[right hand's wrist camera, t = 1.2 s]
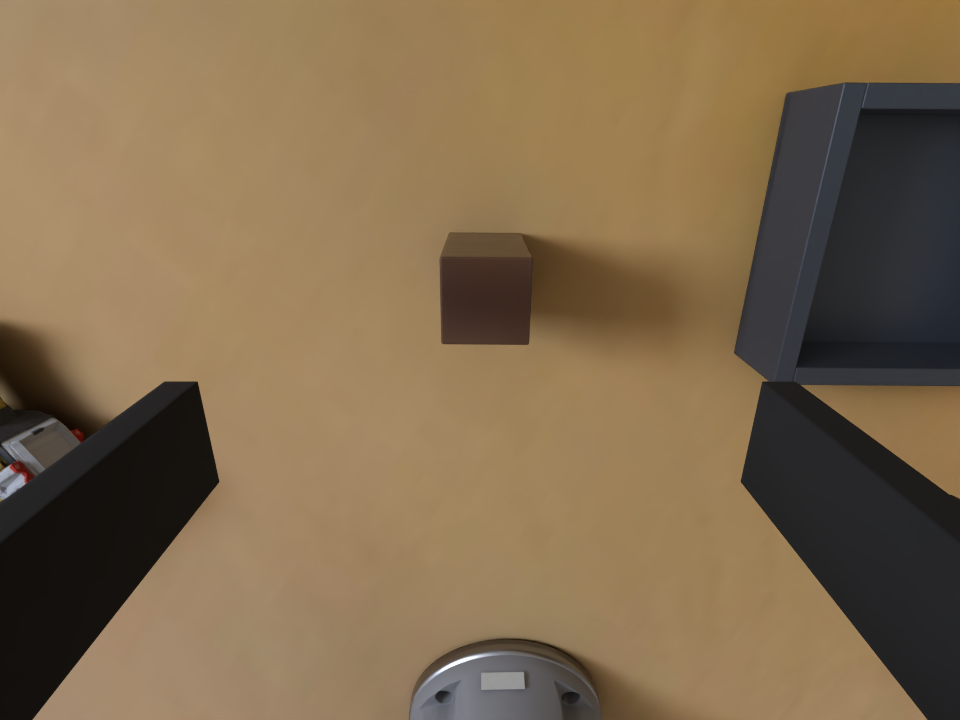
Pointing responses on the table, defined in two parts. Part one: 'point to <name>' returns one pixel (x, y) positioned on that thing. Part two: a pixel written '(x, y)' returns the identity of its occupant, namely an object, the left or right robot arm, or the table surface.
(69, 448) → the toy gun
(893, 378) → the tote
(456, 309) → the walnut block
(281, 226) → the table surface
